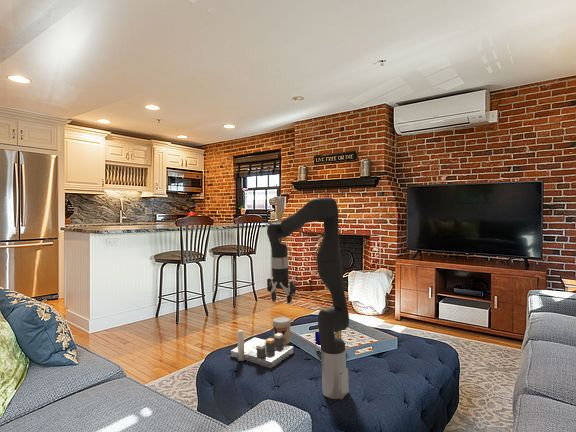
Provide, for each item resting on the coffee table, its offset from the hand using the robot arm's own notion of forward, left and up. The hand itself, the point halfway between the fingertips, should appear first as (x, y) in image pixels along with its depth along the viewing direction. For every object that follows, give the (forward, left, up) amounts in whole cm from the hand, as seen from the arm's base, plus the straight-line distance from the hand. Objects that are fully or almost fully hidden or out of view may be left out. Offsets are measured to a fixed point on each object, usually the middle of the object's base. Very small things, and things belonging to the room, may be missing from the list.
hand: (281, 301), depth 169 cm
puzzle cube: (-12, -21, -28) cm, 37 cm away
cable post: (+18, +9, -28) cm, 34 cm away
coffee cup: (+13, -17, -28) cm, 35 cm away
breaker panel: (+13, 0, -28) cm, 31 cm away
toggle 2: (+8, 0, -24) cm, 26 cm away
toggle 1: (+8, +7, -24) cm, 27 cm away
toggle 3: (+8, -7, -24) cm, 27 cm away
